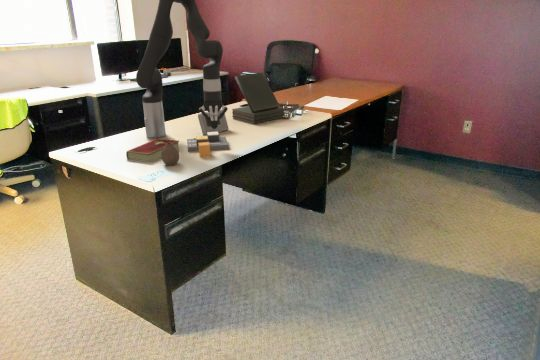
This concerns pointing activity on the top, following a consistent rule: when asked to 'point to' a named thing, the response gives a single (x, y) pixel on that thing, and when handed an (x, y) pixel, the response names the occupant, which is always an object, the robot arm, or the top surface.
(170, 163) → the vase
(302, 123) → the top surface
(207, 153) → the orange rectangular block
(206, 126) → the digital clock
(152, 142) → the hardcover book
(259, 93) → the angled tablet stand
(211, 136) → the block
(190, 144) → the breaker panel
